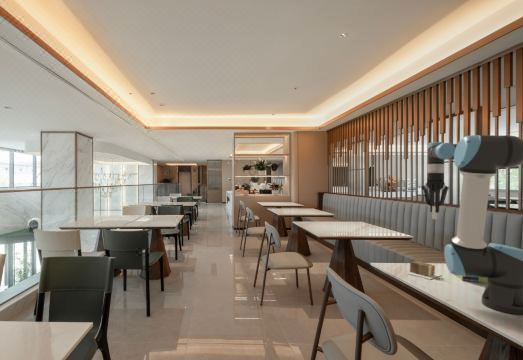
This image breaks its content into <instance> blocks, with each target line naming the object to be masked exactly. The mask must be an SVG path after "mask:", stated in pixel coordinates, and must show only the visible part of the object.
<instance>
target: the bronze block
mask: <svg viewBox="0 0 523 360" xmlns="http://www.w3.org/2000/svg"><path fill="white" fill-rule="evenodd" d="M409 265H410V266H409V273H411V272H412V273H416V274H420V275H424V276H429V277H431V276H434V275H435V274H436V273H435V272H436V267H435V266H436V265H435V264H431V263H425V262H421V261H416V260H413V261H410V264H409Z"/></svg>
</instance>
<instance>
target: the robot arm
mask: <svg viewBox="0 0 523 360" xmlns="http://www.w3.org/2000/svg"><path fill="white" fill-rule="evenodd" d="M445 160H446V161H448V160H452V161H453V162H454V166H455V167H457V168H458V171H459V173H460V174H461V175H462V181H461V182H462V183H461V193H460V202H459V209H458V210H459V212H458V218H457V219H458V220H457V228H456V235H455V236H453V237H452V238H451V240H450V241H451V242H450V243H448V244H445V247H444V250H443V251H444V261H445V265H446V267H447V270H448V271H449V272H450V274H452V275H454V276H456V275H459V276H464V277H465V276H468V277H483V278H486V279H487V282H486V286H485V287H484V290H483V292H482V295H481V304H482V305H484V306H485V307H487V308H488V309H489V308H490V309H493V310H495V311H499V312H503V313H507V314H511V315H523V249H521V248H519V247H515V246H509V245H506V244H500V243H494V242H490V243H489V242H488V243H486V242H485V240H484V235H485V226H486V219H487V217H486V216H487V210H488V202H489V195H490V187H491V186H490V185H491V179H492V177H494V176H495V175H497V171H498V169H508V168H509V169H510V168H515V167H518V166H521V165H522V164H523V138H521V137H519V136H515V135H508V134H507V135H506V134H505V135H499V134H498V135H497V134H496V135H488V134H487V135H486V134H484V135H483V134H481V135H479V134H476V135H473V134H472V135H465V136H463V137H461V138H460V140H459V141H458V142H457V143H450V142H441V141H434V142H433V141H432V142H429V143H428V146H427V178H426V180H427V181H426V183H425V185H421V189H422V190H423V194H424V200H425V203H426V205H429V206H430V207H429V208H430V209H429V211H430V213H431V220H437V219H438V213H440V207H441V206H443V205H444V203H445V200H446V197H447V193H448V191H449V190H450V188H451V187H450V186H447V185H446V183H445V180H444V179H445V174H444V172H445ZM428 189H429V190H428ZM441 190H442V193H441Z"/></svg>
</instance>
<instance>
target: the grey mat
mask: <svg viewBox="0 0 523 360" xmlns="http://www.w3.org/2000/svg"><path fill="white" fill-rule="evenodd" d="M407 275H409V276H415V277H418V278H422V279H426V280H434V279H436V278H439V277H441V276H442V274H437V273H435V275H434V276H431V277H429V276H424V275H420V274H416V273H412V272H408V273H407Z"/></svg>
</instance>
